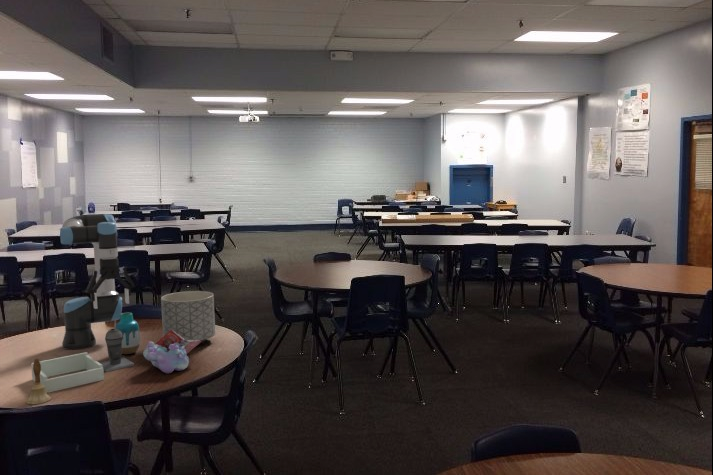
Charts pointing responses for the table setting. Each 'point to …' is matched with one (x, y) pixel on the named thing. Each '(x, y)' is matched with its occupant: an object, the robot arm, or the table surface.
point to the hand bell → (38, 387)
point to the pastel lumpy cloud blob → (170, 352)
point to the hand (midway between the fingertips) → (111, 305)
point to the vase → (129, 333)
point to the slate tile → (123, 364)
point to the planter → (189, 314)
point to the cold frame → (66, 366)
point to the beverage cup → (114, 345)
